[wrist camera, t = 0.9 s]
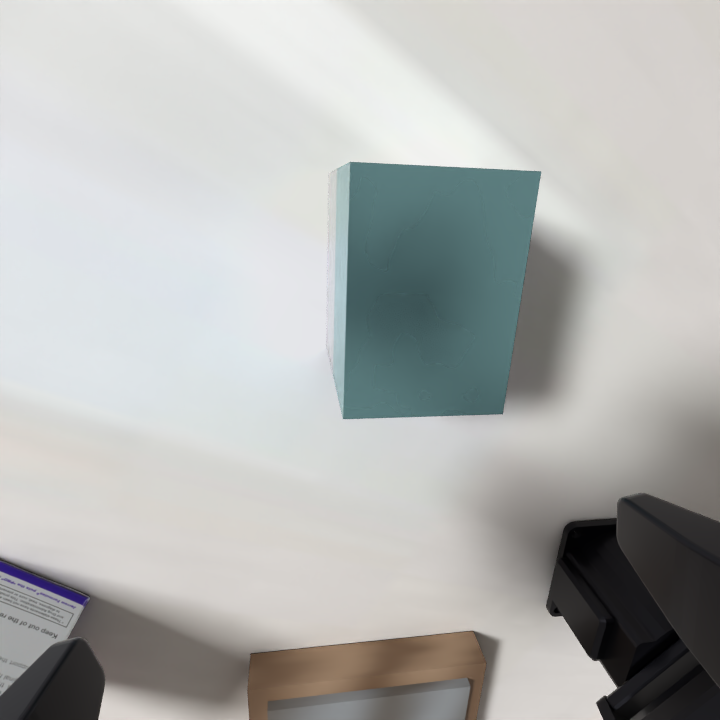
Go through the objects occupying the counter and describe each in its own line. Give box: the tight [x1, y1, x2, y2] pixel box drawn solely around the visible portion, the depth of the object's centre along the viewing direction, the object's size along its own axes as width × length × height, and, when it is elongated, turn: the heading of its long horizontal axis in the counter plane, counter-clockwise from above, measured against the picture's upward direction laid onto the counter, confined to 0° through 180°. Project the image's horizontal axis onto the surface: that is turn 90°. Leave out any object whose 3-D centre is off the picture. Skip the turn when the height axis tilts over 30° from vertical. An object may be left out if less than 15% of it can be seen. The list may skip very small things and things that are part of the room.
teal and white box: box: [326, 162, 541, 419], centre depth 16 cm, size 7×5×7 cm
